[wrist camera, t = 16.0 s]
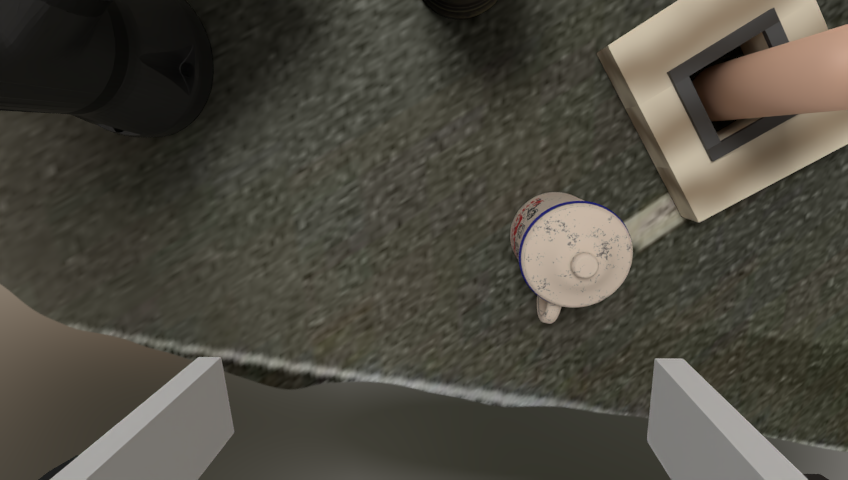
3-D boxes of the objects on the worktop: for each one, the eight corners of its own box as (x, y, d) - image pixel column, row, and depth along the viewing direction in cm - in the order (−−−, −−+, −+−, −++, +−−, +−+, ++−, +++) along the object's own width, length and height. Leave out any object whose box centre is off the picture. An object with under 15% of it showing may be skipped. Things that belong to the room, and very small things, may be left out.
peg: (678, 84, 37) (805, 50, 24) (732, 52, 36) (895, -2, 23) (701, 132, 38) (837, 125, 25) (754, 101, 37) (925, 77, 24)
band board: (596, 53, 37) (609, 44, 34) (759, -52, 34) (790, -73, 31) (681, 216, 40) (701, 223, 37) (838, 132, 37) (875, 131, 34)
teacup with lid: (518, 181, 41) (541, 196, 29) (609, 198, 40) (667, 220, 29) (492, 291, 44) (503, 343, 32) (576, 308, 43) (617, 366, 32)
